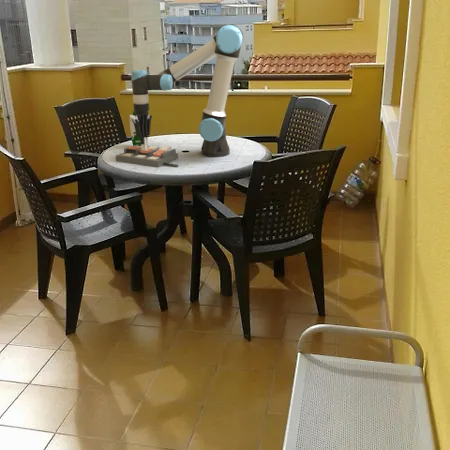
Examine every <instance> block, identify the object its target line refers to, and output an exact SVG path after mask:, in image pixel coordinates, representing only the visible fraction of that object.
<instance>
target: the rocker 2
mask: <svg viewBox="0 0 450 450" xmlns="http://www.w3.org/2000/svg"><path fill="white" fill-rule="evenodd" d="M159 148H160V149H158V150H157V151H156V152H154V153H153V156H157V157H161V154H162V153H164V152H167V151H170V150H172V146H170V145H163V146H161V147H159Z"/></svg>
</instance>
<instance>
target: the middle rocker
mask: <svg viewBox="0 0 450 450" xmlns="http://www.w3.org/2000/svg"><path fill="white" fill-rule="evenodd" d="M149 146H150V147H147V150H146V151H144V150H140V152H141V153H148V152H150V151H153V150H155V149H158V148H160V146H159V145H157V146H156V145H149Z"/></svg>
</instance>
